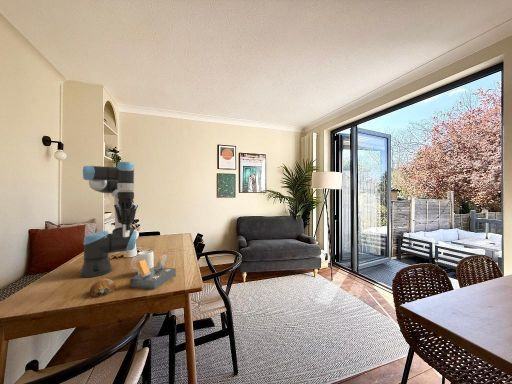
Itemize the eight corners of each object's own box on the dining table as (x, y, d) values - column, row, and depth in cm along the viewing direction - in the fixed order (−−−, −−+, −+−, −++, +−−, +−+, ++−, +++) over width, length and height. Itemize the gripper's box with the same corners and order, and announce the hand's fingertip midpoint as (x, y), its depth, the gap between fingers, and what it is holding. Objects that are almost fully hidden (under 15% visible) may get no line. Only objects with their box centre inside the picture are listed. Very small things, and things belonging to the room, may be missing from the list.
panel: (130, 286, 112) (130, 262, 112) (154, 273, 130) (153, 252, 129) (154, 289, 109) (154, 264, 109) (175, 275, 126) (175, 254, 126)
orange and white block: (141, 278, 112) (135, 263, 113) (148, 274, 117) (142, 260, 118) (144, 277, 112) (138, 261, 113) (151, 273, 117) (145, 258, 117)
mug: (131, 277, 123) (131, 256, 123) (130, 273, 130) (130, 252, 130) (154, 273, 130) (154, 252, 129) (152, 269, 137) (152, 249, 137)
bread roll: (117, 296, 109) (121, 279, 113) (105, 296, 100) (109, 277, 103) (96, 297, 109) (101, 279, 112) (82, 297, 100) (87, 277, 103)
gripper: (109, 191, 115) (109, 237, 115) (131, 191, 112) (131, 238, 112) (121, 191, 122) (121, 234, 122) (141, 191, 119) (141, 235, 119)
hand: (126, 236), depth 117 cm, fingers closed
